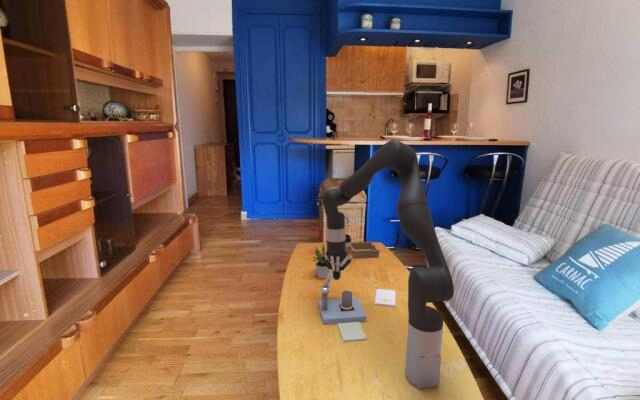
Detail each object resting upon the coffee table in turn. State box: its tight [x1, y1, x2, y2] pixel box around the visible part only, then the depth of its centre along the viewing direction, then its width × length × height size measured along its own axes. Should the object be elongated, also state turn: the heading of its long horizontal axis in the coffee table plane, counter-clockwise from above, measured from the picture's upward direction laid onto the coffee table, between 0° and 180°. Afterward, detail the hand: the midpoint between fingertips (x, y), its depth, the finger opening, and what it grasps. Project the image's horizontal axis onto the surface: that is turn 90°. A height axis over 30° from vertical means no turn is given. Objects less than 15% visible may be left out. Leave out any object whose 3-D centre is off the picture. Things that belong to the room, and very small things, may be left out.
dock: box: [317, 293, 368, 325], centre depth 133 cm, size 14×16×9 cm
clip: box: [319, 271, 334, 294], centre depth 137 cm, size 4×16×2 cm, turn 168°
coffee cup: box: [341, 233, 352, 266], centre depth 179 cm, size 8×8×15 cm
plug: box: [341, 290, 353, 312], centre depth 133 cm, size 5×5×8 cm
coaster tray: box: [349, 241, 380, 260], centre depth 194 cm, size 14×14×4 cm
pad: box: [337, 322, 368, 343], centre depth 122 cm, size 10×8×1 cm
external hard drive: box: [374, 288, 397, 308], centre depth 145 cm, size 2×8×12 cm
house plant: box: [311, 242, 331, 279], centre depth 164 cm, size 14×14×16 cm
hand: (336, 279), depth 142 cm, fingers closed
